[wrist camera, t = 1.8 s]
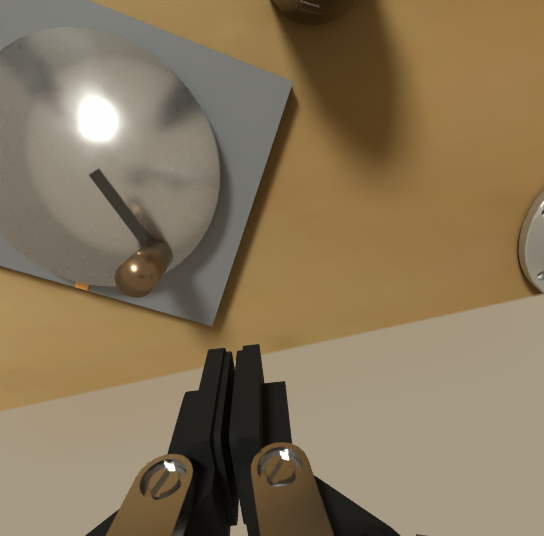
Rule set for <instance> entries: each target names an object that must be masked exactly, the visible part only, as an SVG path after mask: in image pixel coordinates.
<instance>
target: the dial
mask: <svg viewBox="0 0 544 536" xmlns="http://www.w3.org/2000/svg"><path fill="white" fill-rule="evenodd" d="M220 187H221V164H220V155H219V150H218V146H217V142H216V138H215V134H214V132H213V129H212V127H211V124H210V121H209V119H208V117H207V115H206V113H205V112H204V110H203V108H202V106H201V104H200V103H199V101H198V100H197V98H196V97H195V95H194V94H193V93H192V91H191V90H190V89H189V87H188V86H187V85H186V84H185V83H184V82H183V81H182V79H181V78H180V77H179V76H178V75H177V74H176V73H175V72H173V71H172V70H171V69H170V68H169V67H168V66H167V65H166V64H164V63H163V62H162V61H161V60H159V59H158V58H157V57H155V56H154V55H152V54H151V53H149V52H148V51H146V50H145V49H143V48H142V47H140V46H138V45H136V44H134V43H132V42H130V41H128V40H127V39H124V38H122V37H119V36H116V35H113V34H111V33H108V32H104V31H100V30H95V29H90V28H82V27H58V28H49V29H45V30H41V31H37V32H33V33H30V34H28V35H26V36H23V37H21V38H19V39H16V40H15V41H13V42H12V43H10V44H9V45H7V46H6V47H4V48H3V49H1V50H0V234H1V235H2V236H3V237H4V238H5V239H6V240H7V241H8V242H9V243H10V244H11V245H12V246H13V247H14V248H15V249H17V250H18V251H19V252H20V253H21V254H23V255H24V256H25V257H26V258H28V259H29V260H31V261H32V262H34V263H35V264H37V265H38V266H40V267H42V268H44V269H46V270H48V271H50V272H52V273H54V274H56V275H58V276H61V277H64V278H66V279H69V280H72V281H76V282H80V283H83V284H89V285H96V286H113V287H115V286H117V287H118V289H119V290H120V291H121V292H122V293H124V294H125V295H127V296H130V297H134V298H140V297H144V296H146V295H148V294H149V293H150V292H151V291H152V290H153V288H154V287H155V285H156V284H157V282H158V281H159V280H160V278H161V277H162V275H163V274H164V273H166V272H168V271H170V270H171V269H172V268H174V267H175V266H177V265H178V264H180V263H181V262H182V261H183V260H184V259H185V258H186V257H187V256H188V255H189V254H191V252H192V251H193V250H194V249H195V247H196V246H197V245H198V244H199V242H200V241H201V239H202V237H203V236H204V234H205V232H206V231H207V229H208V227H209V226H210V223H211V221H212V219H213V216H214V214H215V211H216V207H217V204H218V200H219V194H220Z"/></svg>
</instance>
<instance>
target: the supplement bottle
mask: <svg viewBox="0 0 544 536" xmlns="http://www.w3.org/2000/svg"><path fill="white" fill-rule="evenodd" d="M272 1H273V2H274V4H275V5H276V6H277V8H278V9H279V10H280V11H281V12H282V13H283V14H284V15H286V16H287V17H288V18H290V19H292V20H294V21H296V22H298V23H302V24H306V25H318V24H323V23H327V22H329V21H331V20H333V19H335V18H337V17H338V16H340V15H341V14H342V13H343V12H344V11H345V10H346V9H347V8H348V7H349V6H350V5H351V4H352V3H353V1H354V0H272Z"/></svg>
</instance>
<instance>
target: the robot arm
mask: <svg viewBox="0 0 544 536" xmlns="http://www.w3.org/2000/svg"><path fill="white" fill-rule="evenodd" d="M518 253H519V259H520V265H521V267H522V270H523V272H524V274H525V276H526V278H527V279H528V280H529V282H530V283H531V284H532V285H533V286H534V287H535V288H537V289H538V290H539V291H540V292H542V293H544V191H543V192H542V193H541V194H540V195H539V196H538V197H537V199H536V200H535V202H534V204H533V205H532V207H531V208H530V210H529V211H528V214H527V216H526V218H525V221H524V223H523V225H522V229H521V233H520V238H519V252H518ZM287 404H288V403H287V395H286V385H285V381H282V382H273V383H264V377H263V369H262V362H261V353H260V346H259V344H256V345H247V346H243V350H241V351H237V356H236V366H235V368H234V362H233V356H232V352H226V349H225V348H219V349H209V350H208V353H207V357H206V361H205V365H204V370H203V374H202V378H201V382H200V387H199V390H198V391H189V392H186V393H185V395H184V398H183V401H182V405H181V408H180V412H179V415H178V419H177V422H176V426H175V429H174V433H173V436H172V440H171V443H170V447H169V450H168V454H167V455H163V456H161V457H158V458H156V459H154V460H152V461H151V462H149V463H148V464H147V465H146V466H145V467H144V468H142V469H141V471H140V472H139V474H138V475H137V476H136V478H135V480H134V482H133V484H132V486H131V488H130V490H129V492H128V494H127V495H126V497H125V499H124V501H123V503H122V505H121V507H120V509H119V510H117V511H116V512H115V513H113V514H112V515H111V516H110V517H108V518H107V519H106V520H105V521H103V522H102V523H101V524H100V525H98V526H97V527H96V528H94V529H93V530H92V531H91V532H89V533H88V534H87V535H86V536H230V526H234V525H237V521H238V504H239V500H240V506H241V511H242V517H243V522H244V524H246V525H247V531H248V536H400V535H399V534H398V533H397V532H396V531H394V530H393V529H392V528H391V527H390V526H388V525H386V524H385V523H384V522H382V521H381V520H379V519H378V518H376V517H375V516H373V515H372V514H370V513H369V512H368V511H366V510H365V509H363V508H361V507H360V506H359V505H357V504H356V503H354V502H353V501H351V500H350V499H348V498H347V497H345V496H344V495H342V494H341V493H340V492H338V491H337V490H335V489H334V488H332V487H330V486H329V485H328V484H326V483H324V482H323V481H322V480H320V479H319V478H317V477H316V476H314V475H313V472H312V469H311V466H310V463H309V460H308V458H307V456H306V454H305V453H304V451H302V450H301V449H300V448H299V447H298V446H295V445H293V444H292V439H291V430H290V422H289V412H288V405H287ZM416 536H425V535H418V534H416Z"/></svg>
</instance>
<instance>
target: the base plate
mask: <svg viewBox="0 0 544 536" xmlns="http://www.w3.org/2000/svg"><path fill="white" fill-rule="evenodd" d="M58 27H82V28H90V29H95V30H100V31H104V32H108V33H111V34H113V35H116V36H119V37H122V38H124V39H127V40H128V41H130V42H132V43H134V44H136V45H138V46H140V47H142V48H143V49H145V50H146V51H148V52H149V53H151V54H152V55H154V56H155V57H157V58H158V59H159V60H161V61H162V62H163V63H164V64H166V65H167V66H168V67H169V68H170V69H171V70H172V71H173V72H175V73H176V74H177V75H178V76H179V77H180V78H181V79H182V81H183V82H184V83H185V84H186V85H187V86H188V87H189V89H190V90H191V91H192V93H193V94H194V95H195V97H196V98H197V100H198V101H199V103H200V104H201V106H202V108H203V110H204V112H205V113H206V115H207V117H208V119H209V121H210V124H211V127H212V129H213V132H214V134H215V138H216V142H217V146H218V150H219V155H220V164H221V187H220V194H219V200H218V204H217V207H216V211H215V214H214V216H213V219H212V221H211V223H210V226H209V227H208V229H207V231H206V232H205V234H204V236H203V237H202V239H201V241H200V242H199V244H198V245H197V246H196V247H195V249H194V250H193V251H192V252H191V254H189V255H188V256H187V257H186V258H185V259H184V260H183V261H182V262H181V263H180V264H178V265H177V266H175V267H174V268H172V269H171V270H170V271H168V272H166V273H164V274H163V275H162V277H161V278H160V280H159V281H158V282H157V284H156V285H155V287H154V288H153V290H152V291H151V292H150V293H149V294H148V295H146V296H144V297H140V298H134V297H130V296H127V295H125V294H124V293H122V292H121V291H120V290H119V289H118V287H117V286H115V287H113V286H96V285H89V284H83V283H80V282H76V281H72V280H69V279H66V278H64V277H61V276H58V275H56V274H54V273H52V272H50V271H48V270H46V269H44V268H42V267H40V266H38V265H37V264H35V263H34V262H32V261H31V260H29V259H28V258H26V257H25V256H24V255H23V254H21V253H20V252H19V251H18V250H17V249H15V248H14V247H13V246H12V245H11V244H10V243H9V242H8V241H7V240H6V239H5V238H4V237H3V236H2V235H1V234H0V266H3V267H6V268H9V269H13V270H16V271H20V272H23V273H27V274H30V275H34V276H37V277H41V278H44V279H48V280H51V281H55V282H58V283H62V284H65V285H69V286H72V287H76V288H79V289H83V290H86V291H90V292H93V293H97V294H100V295H104V296H107V297H111V298H114V299H118V300H121V301H125V302H128V303H132V304H135V305H139V306H142V307H146V308H149V309H153V310H156V311H160V312H163V313H167V314H170V315H174V316H177V317H181V318H184V319H188V320H191V321H195V322H198V323H202V324H205V325H209V326H213V323H214V320H215V317H216V314H217V311H218V307H219V304H220V301H221V298H222V295H223V292H224V289H225V286H226V283H227V280H228V277H229V274H230V271H231V268H232V265H233V262H234V259H235V256H236V253H237V250H238V247H239V244H240V241H241V238H242V235H243V232H244V229H245V226H246V223H247V220H248V217H249V214H250V211H251V208H252V205H253V202H254V199H255V196H256V193H257V190H258V187H259V184H260V180H261V177H262V174H263V171H264V168H265V165H266V162H267V159H268V156H269V153H270V150H271V147H272V144H273V141H274V138H275V135H276V132H277V129H278V126H279V123H280V120H281V117H282V114H283V111H284V108H285V105H286V102H287V99H288V96H289V93H290V90H291V87H292V84H293V82H292V81H290V80H287V79H285V78H282V77H280V76H277V75H275V74H272V73H270V72H267V71H265V70H262V69H260V68H257V67H255V66H252V65H250V64H247V63H245V62H242V61H240V60H237V59H235V58H232V57H230V56H227V55H225V54H222V53H220V52H217V51H215V50H212V49H210V48H207V47H205V46H202V45H200V44H197V43H195V42H192V41H190V40H187V39H185V38H182V37H180V36H177V35H175V34H172V33H169V32H167V31H164V30H162V29H159V28H157V27H154V26H152V25H149V24H147V23H144V22H142V21H139V20H137V19H134V18H132V17H129V16H127V15H124V14H122V13H119V12H117V11H114V10H112V9H109V8H107V7H104V6H102V5H99V4H97V3H94V2H92V1H89V0H0V50H1V49H3V48H4V47H6V46H7V45H9V44H10V43H12V42H13V41H15V40H16V39H19V38H21V37H23V36H26V35H28V34H30V33H33V32H37V31H41V30H45V29H49V28H58Z"/></svg>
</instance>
